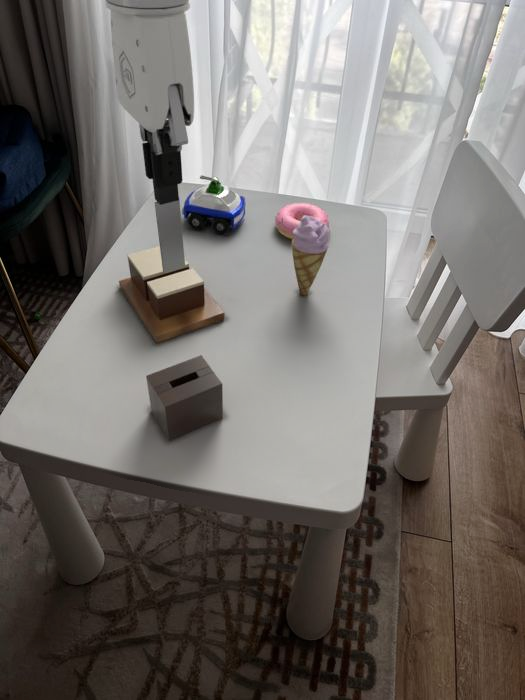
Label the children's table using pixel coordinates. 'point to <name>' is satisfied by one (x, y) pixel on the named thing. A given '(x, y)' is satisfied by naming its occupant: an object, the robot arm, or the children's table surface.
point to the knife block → (185, 397)
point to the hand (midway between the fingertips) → (164, 179)
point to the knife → (168, 221)
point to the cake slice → (176, 293)
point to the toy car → (214, 207)
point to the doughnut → (297, 217)
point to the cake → (148, 268)
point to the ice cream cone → (309, 250)
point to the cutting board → (175, 323)
